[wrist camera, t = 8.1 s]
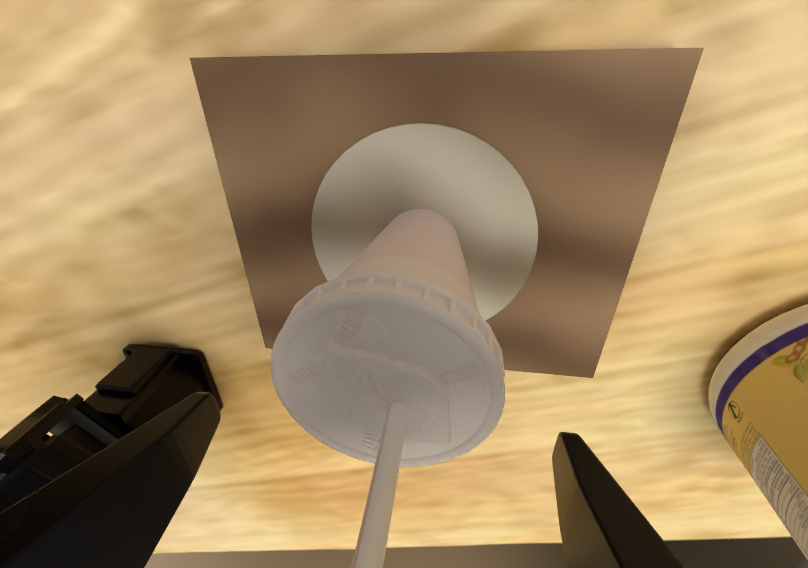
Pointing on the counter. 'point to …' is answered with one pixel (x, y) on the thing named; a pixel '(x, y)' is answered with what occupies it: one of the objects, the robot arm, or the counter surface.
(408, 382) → the smoothie
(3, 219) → the counter surface
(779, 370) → the supplement tub
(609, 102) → the walnut base
